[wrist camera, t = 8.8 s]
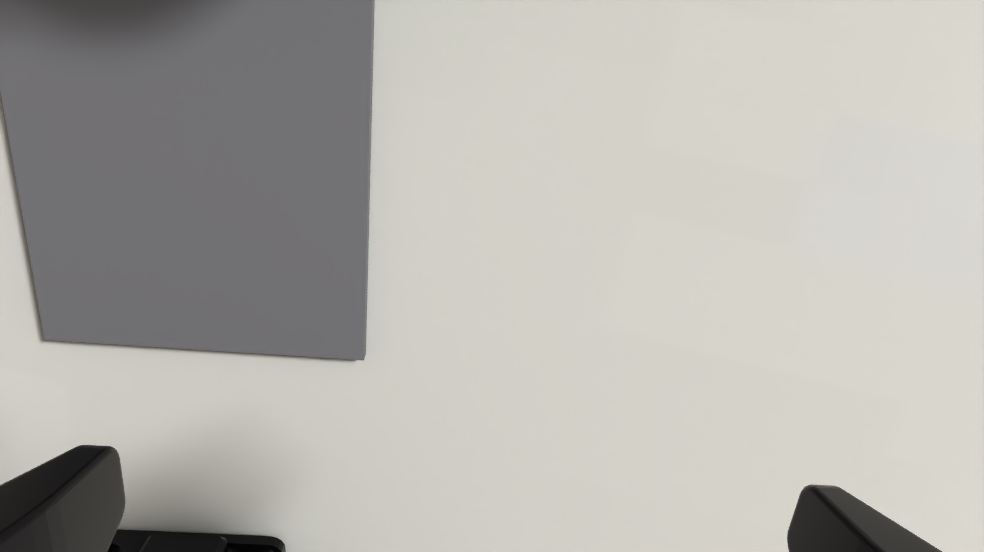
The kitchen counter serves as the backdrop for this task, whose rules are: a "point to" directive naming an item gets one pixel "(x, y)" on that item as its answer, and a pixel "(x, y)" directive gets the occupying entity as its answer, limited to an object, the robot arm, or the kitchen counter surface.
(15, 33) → the mat
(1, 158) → the kitchen counter surface
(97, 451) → the robot arm
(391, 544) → the kitchen counter surface
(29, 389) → the kitchen counter surface
